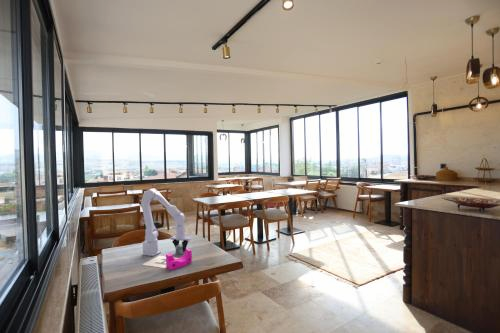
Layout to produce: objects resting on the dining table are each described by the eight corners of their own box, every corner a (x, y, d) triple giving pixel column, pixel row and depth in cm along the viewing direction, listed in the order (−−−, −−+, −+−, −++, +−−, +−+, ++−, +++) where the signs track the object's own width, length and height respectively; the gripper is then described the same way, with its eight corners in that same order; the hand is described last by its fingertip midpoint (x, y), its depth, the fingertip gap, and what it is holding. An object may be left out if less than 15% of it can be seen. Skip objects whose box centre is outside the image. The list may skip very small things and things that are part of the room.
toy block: (170, 270, 160) (170, 257, 160) (166, 266, 165) (165, 254, 164) (193, 263, 170) (193, 251, 169) (188, 260, 174) (188, 248, 174)
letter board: (142, 264, 169) (142, 264, 169) (159, 255, 184) (159, 255, 184) (165, 268, 163) (165, 267, 163) (180, 258, 178) (180, 258, 178)
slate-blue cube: (175, 253, 187) (175, 246, 187) (180, 251, 192) (179, 244, 191) (182, 254, 185) (181, 247, 185) (186, 252, 190) (186, 244, 190)
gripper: (167, 231, 186) (168, 251, 187) (186, 233, 181) (186, 253, 182) (173, 229, 193) (174, 248, 194) (191, 230, 188) (192, 250, 189)
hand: (180, 250), depth 188 cm, fingers closed on slate-blue cube, 5 cm apart
